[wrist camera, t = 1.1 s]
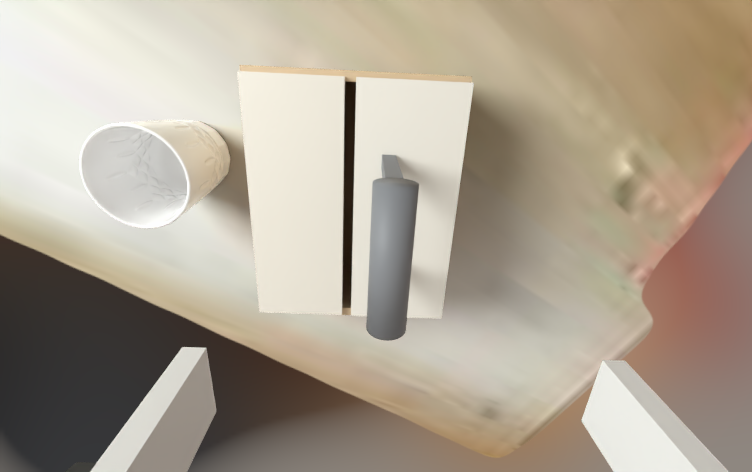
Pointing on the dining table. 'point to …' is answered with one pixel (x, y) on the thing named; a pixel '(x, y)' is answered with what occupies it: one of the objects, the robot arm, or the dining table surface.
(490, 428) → the dining table surface
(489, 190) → the dining table surface
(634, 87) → the dining table surface
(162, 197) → the white cup
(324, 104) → the cabinet
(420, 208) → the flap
